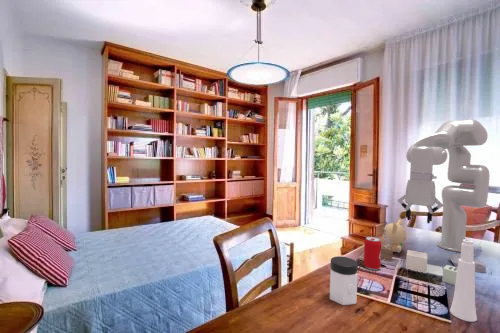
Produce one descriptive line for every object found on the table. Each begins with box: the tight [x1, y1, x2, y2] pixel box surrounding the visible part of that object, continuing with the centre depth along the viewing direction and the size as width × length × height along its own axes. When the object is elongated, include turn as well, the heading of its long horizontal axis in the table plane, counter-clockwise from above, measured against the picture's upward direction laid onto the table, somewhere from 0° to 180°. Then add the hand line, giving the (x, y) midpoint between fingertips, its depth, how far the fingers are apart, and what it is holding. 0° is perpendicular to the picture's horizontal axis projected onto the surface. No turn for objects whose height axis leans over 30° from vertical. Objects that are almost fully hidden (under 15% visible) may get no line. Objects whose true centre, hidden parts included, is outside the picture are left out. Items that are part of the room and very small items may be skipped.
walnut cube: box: [381, 244, 394, 261], centre depth 118 cm, size 5×5×5 cm
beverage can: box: [363, 236, 382, 271], centre depth 107 cm, size 6×6×12 cm
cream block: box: [405, 249, 428, 274], centre depth 108 cm, size 7×7×6 cm
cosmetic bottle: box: [449, 239, 478, 323], centre depth 76 cm, size 6×6×22 cm
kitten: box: [382, 218, 407, 253], centre depth 127 cm, size 15×10×15 cm
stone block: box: [448, 253, 487, 274], centre depth 111 cm, size 12×5×10 cm
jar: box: [329, 255, 359, 306], centre depth 84 cm, size 9×8×12 cm
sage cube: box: [442, 264, 457, 286], centre depth 96 cm, size 5×5×5 cm
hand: (418, 220), depth 107 cm, fingers open, 6 cm apart
